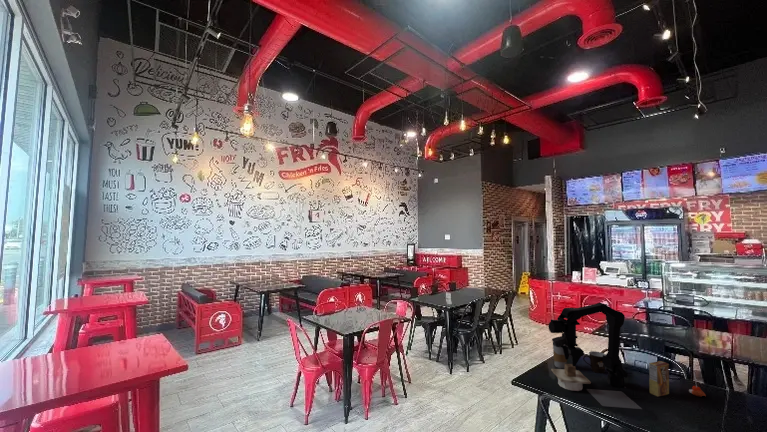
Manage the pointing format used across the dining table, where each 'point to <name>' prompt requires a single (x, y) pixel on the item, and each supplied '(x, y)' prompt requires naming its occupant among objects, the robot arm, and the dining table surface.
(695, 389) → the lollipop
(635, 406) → the mat
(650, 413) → the dining table surface
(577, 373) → the cover tile
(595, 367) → the coffee mug
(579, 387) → the bowl
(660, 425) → the dining table surface
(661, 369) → the candy box
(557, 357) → the coffee cup
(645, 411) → the dining table surface
